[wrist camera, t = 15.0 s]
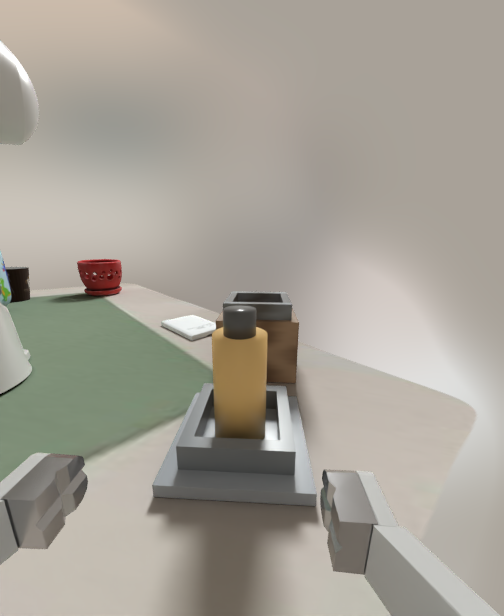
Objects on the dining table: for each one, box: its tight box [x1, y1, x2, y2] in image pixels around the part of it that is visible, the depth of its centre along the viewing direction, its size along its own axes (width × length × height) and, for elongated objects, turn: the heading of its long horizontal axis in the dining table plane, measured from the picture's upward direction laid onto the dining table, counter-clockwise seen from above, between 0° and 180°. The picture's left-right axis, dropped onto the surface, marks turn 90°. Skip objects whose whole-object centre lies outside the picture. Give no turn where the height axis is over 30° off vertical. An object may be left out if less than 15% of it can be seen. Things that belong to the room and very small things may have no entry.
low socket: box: [152, 383, 317, 506], centre depth 22 cm, size 11×11×3 cm
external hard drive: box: [161, 315, 216, 341], centre depth 53 cm, size 2×8×12 cm
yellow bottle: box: [212, 306, 268, 440], centre depth 21 cm, size 4×4×11 cm
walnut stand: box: [216, 292, 299, 383], centre depth 35 cm, size 10×10×10 cm
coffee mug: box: [5, 267, 30, 302], centre depth 76 cm, size 12×9×10 cm
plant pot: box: [77, 259, 122, 296], centre depth 88 cm, size 13×13×12 cm
